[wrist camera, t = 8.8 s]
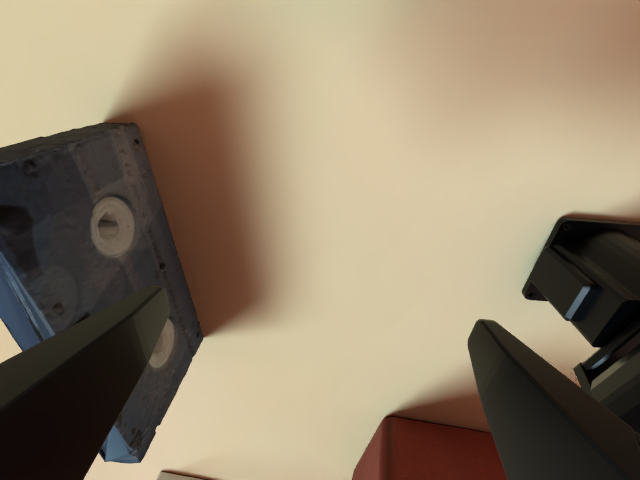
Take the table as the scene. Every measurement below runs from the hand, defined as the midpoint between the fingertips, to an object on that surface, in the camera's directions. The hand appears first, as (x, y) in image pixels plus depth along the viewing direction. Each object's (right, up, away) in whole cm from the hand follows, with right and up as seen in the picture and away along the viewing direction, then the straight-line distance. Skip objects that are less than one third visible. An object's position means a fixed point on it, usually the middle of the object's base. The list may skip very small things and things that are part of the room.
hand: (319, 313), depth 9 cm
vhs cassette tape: (-12, +1, +14) cm, 18 cm away
